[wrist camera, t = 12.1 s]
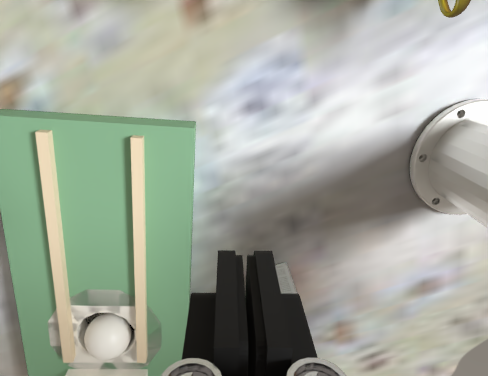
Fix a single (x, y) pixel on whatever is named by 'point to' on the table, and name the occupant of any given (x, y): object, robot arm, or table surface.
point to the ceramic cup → (459, 7)
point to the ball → (107, 336)
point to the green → (98, 235)
